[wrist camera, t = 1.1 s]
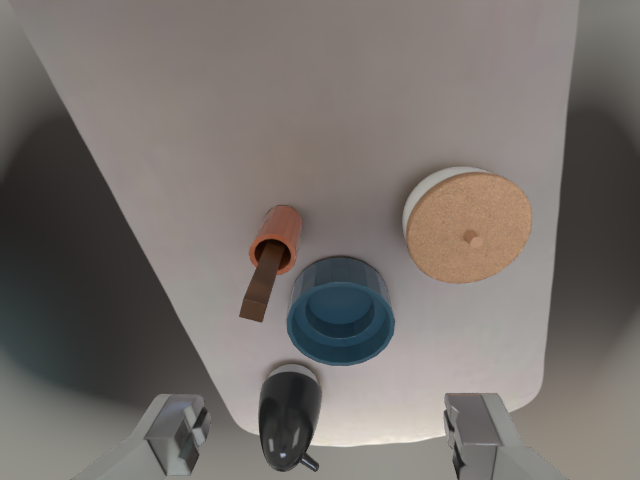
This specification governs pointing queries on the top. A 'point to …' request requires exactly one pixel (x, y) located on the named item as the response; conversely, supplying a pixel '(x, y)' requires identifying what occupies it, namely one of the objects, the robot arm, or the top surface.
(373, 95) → the top surface
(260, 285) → the stirring stick
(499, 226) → the lidded bowl
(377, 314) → the mixing bowl
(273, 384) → the black rounded egg shape
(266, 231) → the pot
